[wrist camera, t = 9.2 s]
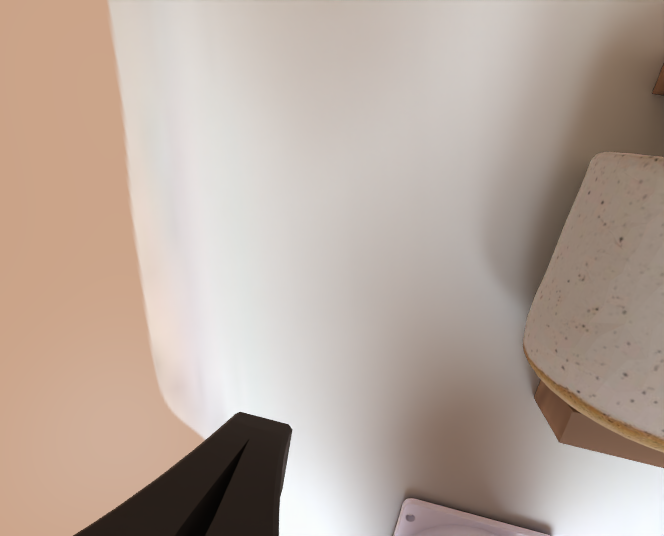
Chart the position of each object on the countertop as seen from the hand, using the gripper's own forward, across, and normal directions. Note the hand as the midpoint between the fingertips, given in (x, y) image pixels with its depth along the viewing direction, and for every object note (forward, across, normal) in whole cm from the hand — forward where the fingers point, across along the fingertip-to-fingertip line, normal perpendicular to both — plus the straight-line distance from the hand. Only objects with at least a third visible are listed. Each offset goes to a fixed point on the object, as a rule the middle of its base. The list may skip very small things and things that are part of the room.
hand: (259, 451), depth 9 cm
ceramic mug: (+10, -13, -5) cm, 17 cm away
